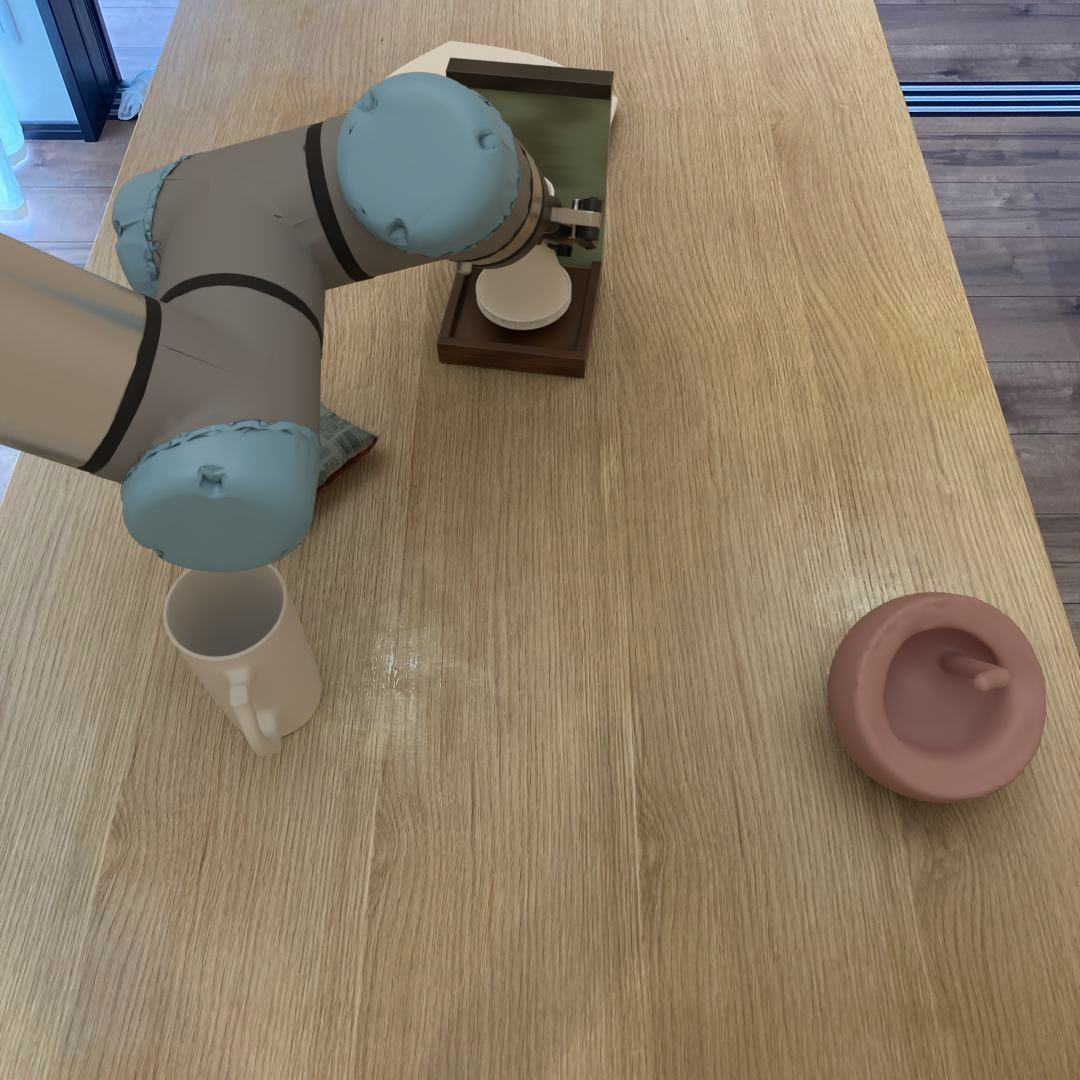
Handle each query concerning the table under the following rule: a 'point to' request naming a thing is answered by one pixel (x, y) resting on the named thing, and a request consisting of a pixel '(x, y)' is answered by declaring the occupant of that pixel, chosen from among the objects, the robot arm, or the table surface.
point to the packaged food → (340, 446)
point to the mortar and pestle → (938, 697)
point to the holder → (575, 173)
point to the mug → (246, 650)
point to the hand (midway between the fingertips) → (528, 231)
